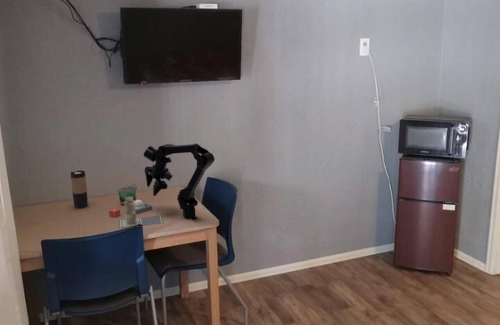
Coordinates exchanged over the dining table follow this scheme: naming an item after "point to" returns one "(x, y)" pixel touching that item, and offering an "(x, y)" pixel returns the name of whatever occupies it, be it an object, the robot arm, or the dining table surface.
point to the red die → (114, 213)
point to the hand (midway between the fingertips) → (151, 191)
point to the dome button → (139, 204)
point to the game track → (142, 221)
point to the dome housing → (143, 209)
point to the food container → (127, 193)
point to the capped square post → (130, 210)
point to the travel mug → (79, 189)
